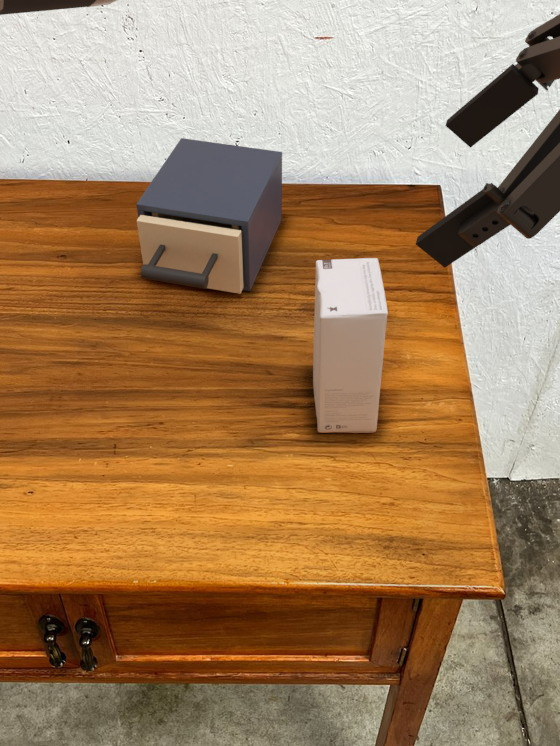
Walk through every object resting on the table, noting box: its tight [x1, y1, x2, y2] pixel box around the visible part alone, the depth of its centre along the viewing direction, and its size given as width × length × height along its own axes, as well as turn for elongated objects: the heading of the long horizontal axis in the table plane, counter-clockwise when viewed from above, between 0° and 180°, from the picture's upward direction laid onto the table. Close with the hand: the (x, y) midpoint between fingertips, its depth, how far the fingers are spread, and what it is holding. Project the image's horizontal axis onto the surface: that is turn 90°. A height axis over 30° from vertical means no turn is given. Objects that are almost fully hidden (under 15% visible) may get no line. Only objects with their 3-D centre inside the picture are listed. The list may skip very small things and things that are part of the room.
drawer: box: [136, 212, 244, 295], centre depth 88 cm, size 19×11×8 cm, turn 166°
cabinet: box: [136, 137, 283, 292], centre depth 91 cm, size 15×13×10 cm
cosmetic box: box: [312, 257, 389, 434], centre depth 71 cm, size 8×6×15 cm
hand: (445, 189), depth 56 cm, fingers open, 13 cm apart
